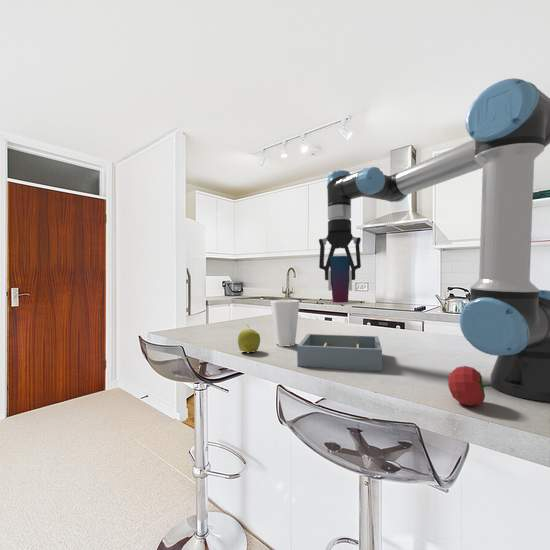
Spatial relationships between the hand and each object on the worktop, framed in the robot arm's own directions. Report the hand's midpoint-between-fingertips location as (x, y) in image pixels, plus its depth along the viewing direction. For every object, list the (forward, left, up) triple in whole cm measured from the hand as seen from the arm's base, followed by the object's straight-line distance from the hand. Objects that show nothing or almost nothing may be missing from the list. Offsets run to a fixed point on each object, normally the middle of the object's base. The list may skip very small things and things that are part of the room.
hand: (340, 290), depth 108 cm
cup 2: (0, 0, -4) cm, 4 cm away
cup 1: (+14, +22, -22) cm, 34 cm away
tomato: (-34, -28, -22) cm, 49 cm away
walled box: (-4, 0, -22) cm, 22 cm away
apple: (0, +32, -22) cm, 39 cm away
